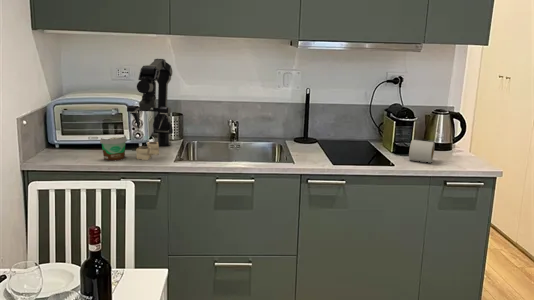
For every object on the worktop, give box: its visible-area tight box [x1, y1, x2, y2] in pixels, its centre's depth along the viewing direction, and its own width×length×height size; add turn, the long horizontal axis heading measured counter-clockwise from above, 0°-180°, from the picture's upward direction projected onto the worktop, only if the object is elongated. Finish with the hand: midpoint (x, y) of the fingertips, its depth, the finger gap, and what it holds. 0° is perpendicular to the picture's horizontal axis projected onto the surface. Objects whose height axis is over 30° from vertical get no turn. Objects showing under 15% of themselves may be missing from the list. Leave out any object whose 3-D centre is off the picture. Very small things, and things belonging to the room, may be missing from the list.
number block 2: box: [146, 141, 160, 156], centre depth 249 cm, size 5×5×5 cm
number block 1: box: [136, 145, 152, 161], centre depth 240 cm, size 5×5×5 cm
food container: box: [99, 134, 128, 162], centre depth 236 cm, size 12×6×10 cm, turn 129°
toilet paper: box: [408, 139, 435, 164], centre depth 249 cm, size 10×10×10 cm
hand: (148, 128), depth 236 cm, fingers open, 9 cm apart
